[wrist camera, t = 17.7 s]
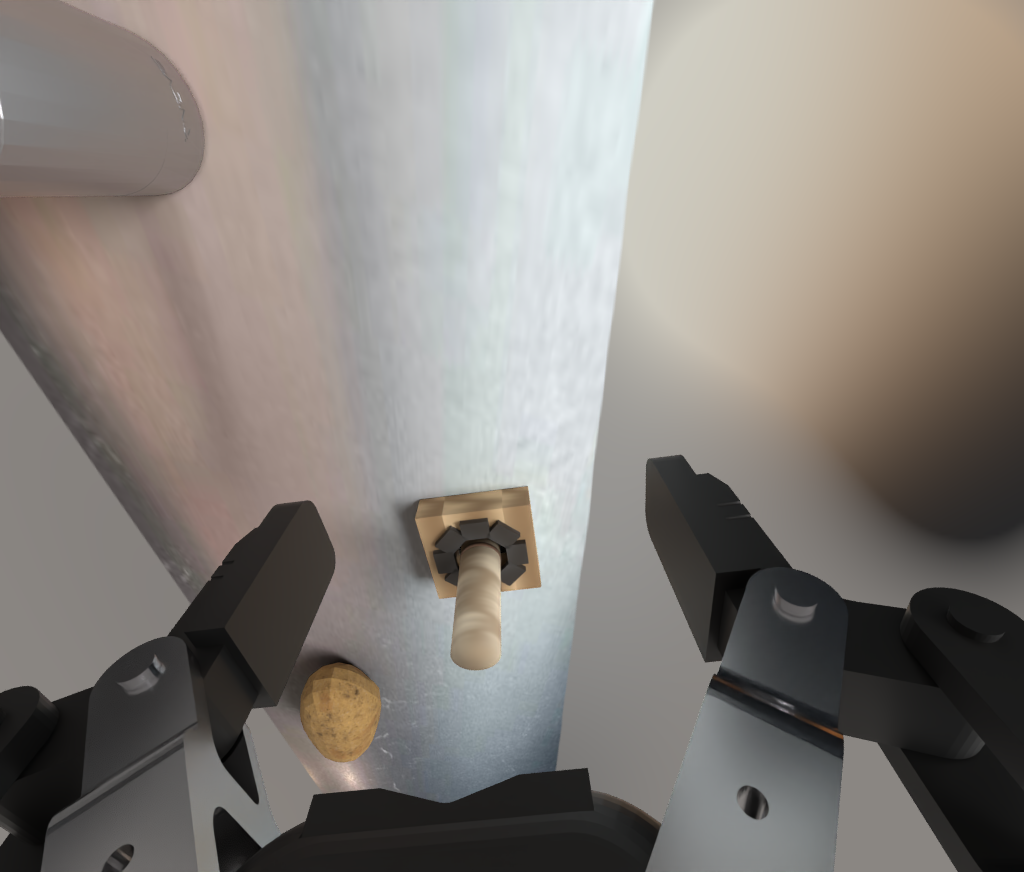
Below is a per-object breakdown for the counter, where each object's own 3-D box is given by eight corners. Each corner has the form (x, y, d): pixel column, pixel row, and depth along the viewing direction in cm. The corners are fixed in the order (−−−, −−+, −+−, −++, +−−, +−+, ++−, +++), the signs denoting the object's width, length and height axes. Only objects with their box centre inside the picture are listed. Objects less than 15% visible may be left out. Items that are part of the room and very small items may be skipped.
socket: (442, 577, 51) (438, 603, 47) (419, 499, 45) (413, 523, 42) (539, 566, 50) (541, 591, 47) (527, 486, 45) (530, 508, 42)
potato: (379, 638, 55) (361, 703, 48) (395, 705, 62) (382, 770, 55) (299, 641, 55) (270, 707, 48) (324, 707, 62) (302, 773, 55)
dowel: (466, 551, 49) (455, 673, 37) (459, 522, 47) (445, 640, 35) (503, 547, 49) (504, 667, 36) (497, 517, 47) (497, 634, 34)
